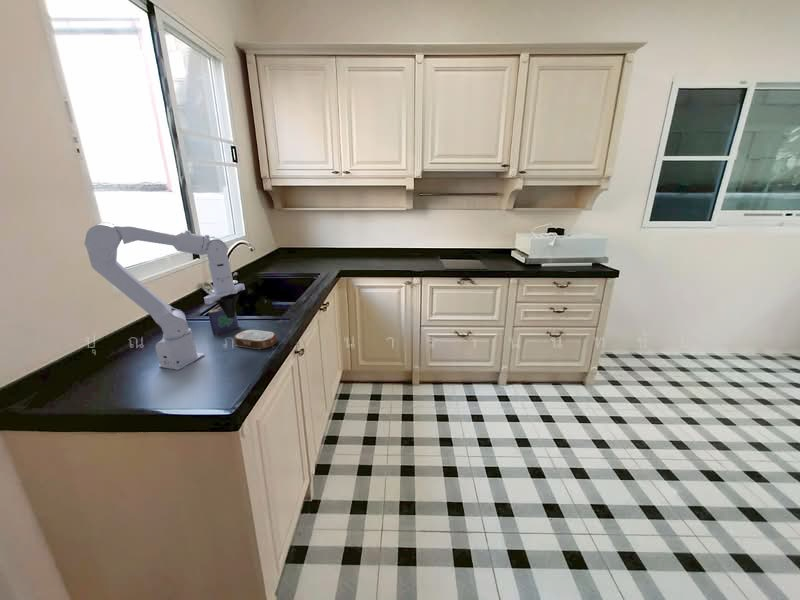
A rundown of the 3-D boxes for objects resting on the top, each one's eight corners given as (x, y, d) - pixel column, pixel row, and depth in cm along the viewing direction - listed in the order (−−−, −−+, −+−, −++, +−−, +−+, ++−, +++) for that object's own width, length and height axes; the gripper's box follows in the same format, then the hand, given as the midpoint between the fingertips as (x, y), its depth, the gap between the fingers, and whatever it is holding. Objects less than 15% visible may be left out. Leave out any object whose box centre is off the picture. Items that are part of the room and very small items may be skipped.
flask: (237, 326, 129) (231, 299, 125) (240, 328, 127) (235, 301, 123) (212, 334, 122) (205, 306, 119) (215, 336, 121) (208, 308, 117)
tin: (266, 350, 108) (282, 340, 116) (265, 340, 107) (281, 331, 115) (228, 344, 113) (247, 336, 120) (227, 336, 112) (246, 327, 120)
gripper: (213, 284, 97) (223, 327, 102) (249, 271, 110) (256, 310, 115) (194, 283, 99) (205, 325, 104) (231, 270, 112) (240, 308, 117)
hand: (231, 317), depth 109 cm, fingers closed
